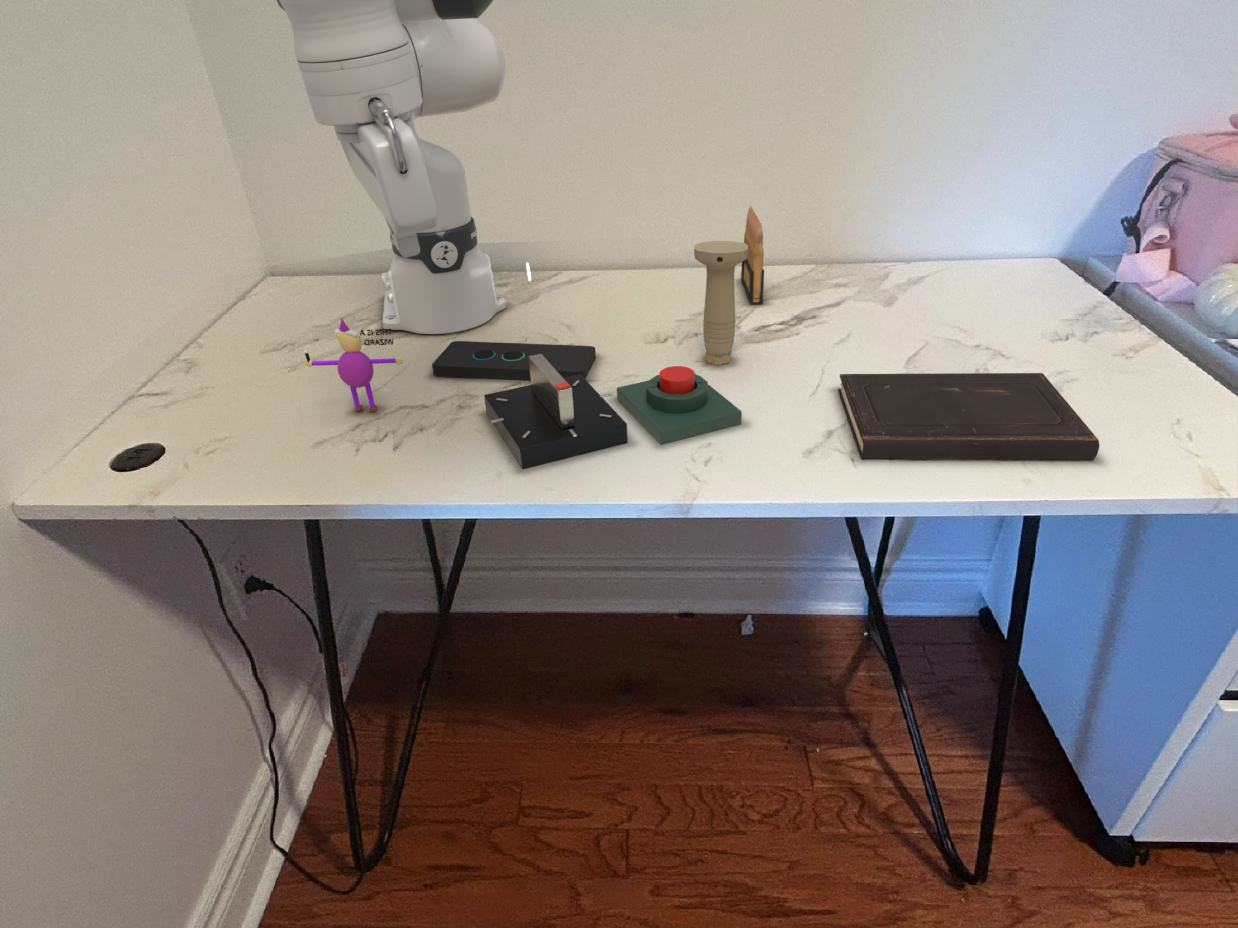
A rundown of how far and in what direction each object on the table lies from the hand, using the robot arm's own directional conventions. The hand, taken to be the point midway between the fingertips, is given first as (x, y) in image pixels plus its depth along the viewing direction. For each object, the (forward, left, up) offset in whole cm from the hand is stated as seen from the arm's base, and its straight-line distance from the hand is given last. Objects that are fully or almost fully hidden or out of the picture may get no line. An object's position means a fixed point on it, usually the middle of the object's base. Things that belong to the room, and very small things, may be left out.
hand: (408, 251), depth 75 cm
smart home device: (-20, +14, -23) cm, 34 cm away
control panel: (-2, +13, -23) cm, 27 cm away
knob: (-2, +13, -20) cm, 24 cm away
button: (+1, +27, -20) cm, 34 cm away
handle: (-9, +38, -23) cm, 46 cm away
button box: (+1, +27, -23) cm, 36 cm away
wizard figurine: (-16, -6, -23) cm, 29 cm away
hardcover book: (+17, +53, -23) cm, 60 cm away
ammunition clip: (-29, +55, -23) cm, 67 cm away
